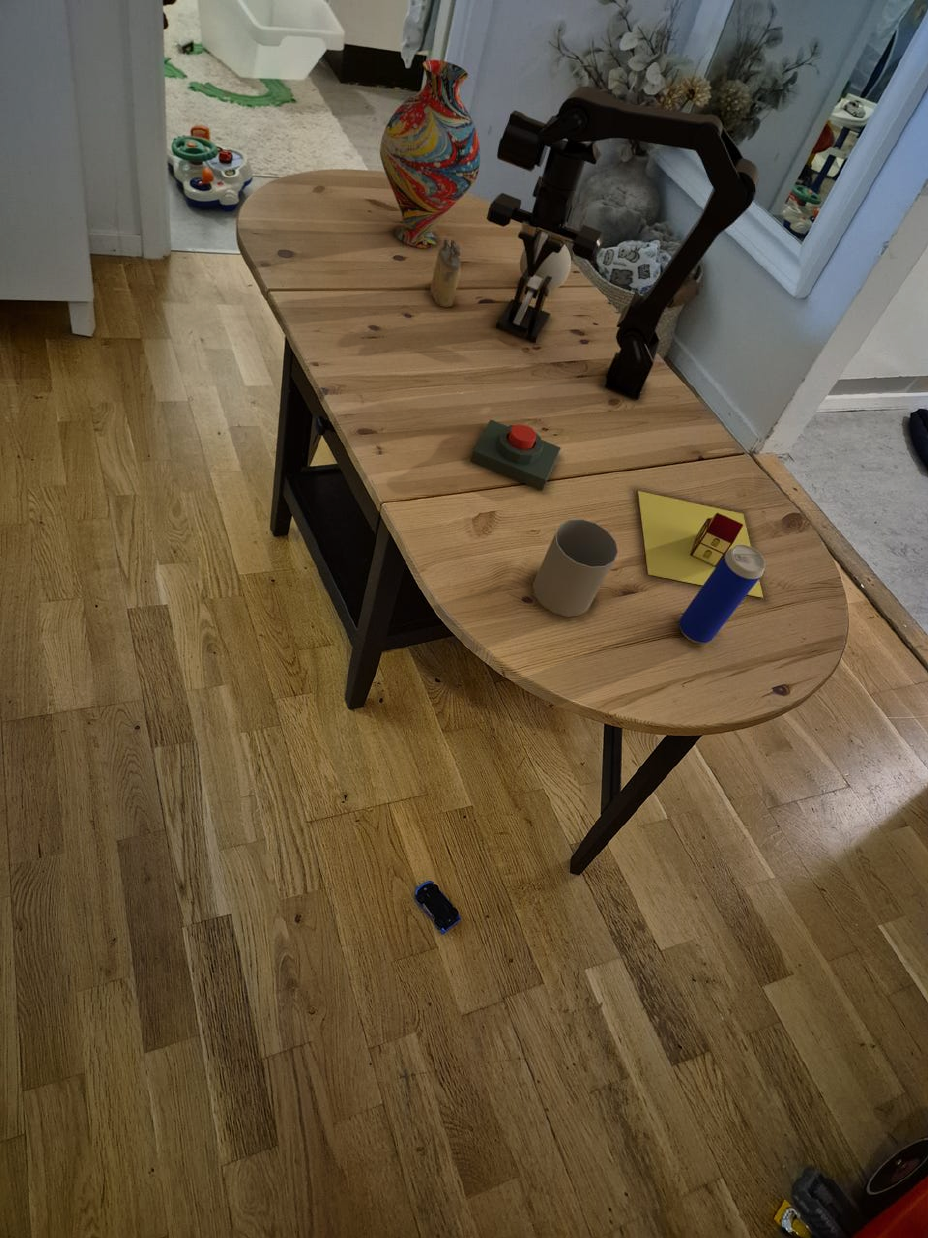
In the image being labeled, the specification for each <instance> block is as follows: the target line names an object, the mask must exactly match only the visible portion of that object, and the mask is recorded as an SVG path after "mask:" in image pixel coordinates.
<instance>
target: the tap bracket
mask: <svg viewBox="0 0 928 1238" xmlns="http://www.w3.org/2000/svg"><path fill="white" fill-rule="evenodd" d="M529 278H530V276H528V269H527V268H526V270H525V271H524V273H523V274H522V275H521V276H519V277H518V279H517V283H516V285H517V288H516V291H515V294H514V298H511V299H510V301H509V302H508V304H507V305H506V307H505V308H504V310H503V312H502V313H501V315H500V316H499V318H498V319H497V321H496V323H495V327H494V328H495V329H497V330H500V331H503V332H505V333H508V334H510V335H512V336H515V337H518V338H520V339H523V340H525V341H527V342H530V343H533V344H536V343H537V341H538V339H539V338H540V336H541V333H542V332H543V330H544V329H545V327H546V325H547V323H548V321H549V319H550V317H551V313H549V312H548V311H544V310H543V307H544V305H545V302H546V299H547V297H549V295H550V292H551V291H550V288H549V287H550V283H551V280H552V277H550V276H547V277H546V279H545V280H544V282H543V284H542V285H541V288H540V291H539V293H538V295H537V297H536V302H535V305H534V306H532V305H529V306H528V308H527V310H526V312H525V314H524V317H523V319H522V321H521V323H520V326H523V327H525V328H528V329H529V330H528V334H527V336H526V338H525V339H524V338H521V337H519V336H516V335H514V334H511V333H509V332H506V331H504V330H501V329H499V328H500V323H501V321H502V319H505V320H507V321H510V322H512V323H513V322H514V320H515V318H516V315H517V313H518V311H519V309H520V307H521V305H522V303H523V300H524V298H525V290H526V286H527V284H528V281H529Z"/></svg>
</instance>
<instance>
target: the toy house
mask: <svg viewBox="0 0 928 1238" xmlns="http://www.w3.org/2000/svg"><path fill="white" fill-rule="evenodd" d="M743 527H744V524H743V523H741V522H739V521H737V520H735V519H732V518H730V517H728V516H726V515H724V514H721V513H719V512H716V513H715V514H714V515H713V516H712V517H707V518H706V520H705V521H704V523H703V524H702V526H701V527H700V529H699V530H698V532H697V534H696V535H697V536H696V539H695V541H694V543H693V546H692V547H693V548H692V551H691V552H690V555H691V556H693V557H695V558H696V559H699V560H702V561H703V562H706V563H708V564H709V565H712V566H715V567H716V566H717V565H718V563H719V562H720V561H721V559H722V558H723V556H724V555H725V553H726V552H727V551H728V550H730V549H731V548H732V545H733V544H734V542H735V541H736V539H737V537H738V535H739V534H740V532H741V530H742V528H743Z"/></svg>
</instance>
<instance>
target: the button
mask: <svg viewBox="0 0 928 1238" xmlns="http://www.w3.org/2000/svg"><path fill="white" fill-rule="evenodd" d="M513 425H514V426H513V427H512V428H511V430H510V433H509V436H508V441H509V443H510V444H511V445H512V446H513V447H515V448H518V449H520V450H529V449H531V448H532V447H533V444H534V442H535V439H536V433H537V432H536V431H535V430H534V429H533V428H532V427H530V426H528V425H525V424H513Z"/></svg>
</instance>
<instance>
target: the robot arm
mask: <svg viewBox="0 0 928 1238" xmlns="http://www.w3.org/2000/svg"><path fill="white" fill-rule="evenodd" d="M612 139H623V140H628V141H634V142H641V143H645V144H653V145H659V146H667V147H672V148H679V149H684V150H691V151H694V152H696V154H697V156H698V158H699V159H700V163H701V164H702V166H703V169H704V171H705V173H706V177H707V179H708V181H709V183H710V185H711V186H712V188H711V192H710V194H709V196H708V199H707V200H706V203H705V205H704V207H703V209H702V211H701V213H700V216H699V217H698V219H697V220H696V221H695V223H694V224H693V226H692V227H691V229H690V230H689V231H688V233H687V235H686V236H685V237H684V239H683V240H682V242H681V243H680V245H679V246H678V248H677V249H676V250H675V252H674V254H673V255H672V256H671V258H670V259H669V261H668V262H667V264H666V266H665V267H664V268H663V270H662V271H661V273H660V274H659V275H658V277H657V278H656V280H655V282H654V283H653V284H652V286H651V288H650V289H648V290H647V292H645V293H644V294H642V295H641V294H640V293H639V292H637V291H634V294H633V296H632V298H631V300H630V302H629V303H628V304H627V305H626V306H625V307H623V308H622V311H621V314H620V316H619V319H618V321H617V323H616V328H618V329H617V332H616V335H615V339H616V343H617V345H618V347H619V348H620V350H619V352H617V351H616V352H614V355H613V357H612V360H611V362H610V365H609V367H608V369H607V372H606V374H605V380H606V381H605V384H604V387H605V388H606V389H608V390H611V391H612V392H613V391H614V392H616V393H619V394H621V395H623V396H625V397H629V398H631V399H632V400H633V399H634V400H636V401H637V400H639V399H640V396H641V394H642V390H643V388H644V386H645V383H646V382H647V379H648V377H649V375H650V373H651V371H652V368H653V366H654V363H655V360H656V357H657V353H658V351H659V347H660V344H661V338H660V335H659V333H658V331H657V328H658V326H659V324H660V321H661V319H662V317H663V314H664V313H665V310H666V308H667V307H668V306H669V304H670V303H671V302H672V300H673V299H674V298H675V296H676V295H677V293H678V292H679V291H680V290H681V288H682V286H683V285H684V284H685V282H686V281H687V279H688V278H689V277H690V275H691V274H692V273H693V271H694V270H695V268H696V267H697V265H699V263H700V261H701V259H702V258H704V256H705V254H706V253H707V251H708V250H709V249H710V247H711V246H712V244H713V243H714V242H715V240H716V239H717V238H718V236H719V235H721V234H722V233H723V232H724V231H725V230H727V229H728V228H729V227H730V226H731V225H733V224H734V223H735V222H736V221H737V220H738V219H739V218H740V217H742V215H743V214H744V213H745V212H746V211H747V210H748V209H749V208H750V207H751V206H752V204H753V201H754V200H755V197H756V192H757V188H758V183H759V170H758V168H757V166H756V164H755V163H754V162H752V161H751V160H749V159H748V158H744V156H743V154H742V153H741V151H740V149H739V147H738V145H737V144H736V143H735V141H734V139H732V137H731V136H730V134H729V133H728V132H727V131H726V129H725V127H724V125H723V123H722V120H721V118H719V117H718V116H717V115H715V114H697V113H690V112H684V111H677V110H670V109H666V108H665V109H664V108H659V107H658V108H657V107H651V106H645V105H638V104H632V103H628V102H624V101H622V100H620V99H618V98H616V97H615V96H613V95H611V94H610V93H608V92H605V91H602V90H600V89H597V88H594V87H592V86H588V85H587V86H586V85H585V86H579V87H577V88H576V89H575V90H573V91H572V92H571V93H570V94H569V95H568V96H567V98H566V99H565V100H564V101H563V103H562V104H561V105H560V107H559V109H558V112H557V113H556V114H555V115H551V117H550V118H549V119H548V120H547V122H546V123H545V122H543V121H540V120H538V119H535V118H532V117H529V116H527V115H525V114H524V113H523V112H521V111H518V110H516V109H514V110H513V111H512V112H511V113H510V114H509V118H508V121H507V124H506V126H505V128H504V131H503V133H502V136H501V137H500V140H499V143H498V148H497V153H496V158H497V160H499V161H502V162H504V163H507V164H509V165H512V166H514V167H517V168H520V169H523V170H525V171H527V172H531V173H532V172H533V171H534V170H535V168H536V167H538V168H541V167H542V165H543V163H544V161H545V158H546V155H547V152H548V155H547V158H546V162H545V164H544V165H545V166H544V169H543V172H542V176H541V175H539V176H538V179H537V181H536V183H535V186H534V189H533V191H532V197H533V198H535V200H534V203H533V206H532V210H531V212H530V211H528V210H525V209H523V208H521V205H522V199H520V198H517V197H514V196H512V195H509V194H507V193H504V192H501V193H499V194H497V195H496V197H495V198H494V199H493V201H492V202H491V203H490V205H489V208H488V211H487V215H486V220H487V221H488V222H490V223H492V224H495V225H497V226H500V227H502V228H504V227H506V226H508V225H510V223H511V220H512V221H514V222H517V223H521V226H520V227H521V229H520V231H519V232H518V234H517V238H518V239H520V240H521V241H522V243H523V248H524V249H525V252H526V259H527V269H528V276H530V277H533V276H534V275H535V273H536V272H537V270H538V269H539V267H540V266H541V265H542V263H543V262H544V261H545V260H546V259H547V258H548V257H549V256H550V254H551V253H552V252H555V253H559V252H560V251H561V249H562V247H563V246H564V244H565V245H566V242H568V243H571V244H573V245H572V248H571V250H572V252H573V254H574V256H576V257H578V258H581V259H584V260H586V261H588V262H594V261H595V259H596V257H597V255H598V253H599V251H600V250H601V247H602V244H603V241H604V238H605V236H604V233H603V231H601V230H599V229H596V228H593V227H590V226H589V225H585V224H583V225H582V226H581V227H580V229H579V230H576V229H574V228H572V227H570V226H568V225H566V223H568V222H569V221H570V219H571V215H572V211H573V209H574V204H575V201H576V199H577V197H576V192H577V189H578V186H579V182H580V179H581V177H582V173H583V172H584V167H585V165H586V163H589V164H591V165H596V164H597V163H598V162H599V159H600V158H601V157H602V153H601V151H600V150H599V148H598V146H597V142H600V141H604V140H612ZM548 149H549V151H548ZM543 233H545V234H547V236H548V238H547V239H546V241H545V242H544V244H543V246H542V248H541V250H540V253H539V255H538V257H537V260H536V256H537V251H538V246H539V241H540V237H541V236H542V234H543ZM535 261H536V262H535Z"/></svg>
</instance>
